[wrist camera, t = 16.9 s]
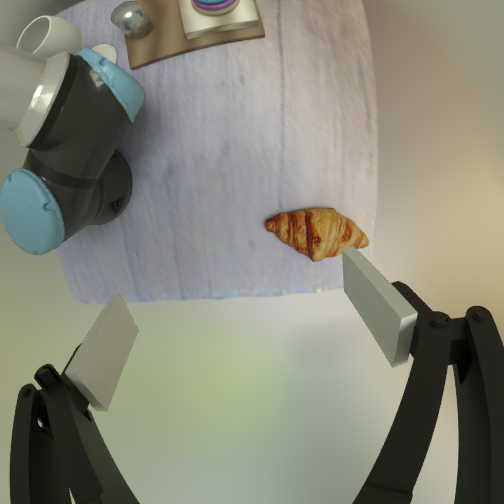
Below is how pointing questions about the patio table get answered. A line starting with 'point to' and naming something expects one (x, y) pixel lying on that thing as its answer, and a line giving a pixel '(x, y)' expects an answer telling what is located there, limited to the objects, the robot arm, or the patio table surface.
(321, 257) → the croissant
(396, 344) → the robot arm
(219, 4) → the stacking toy
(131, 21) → the grey brown short cylinder
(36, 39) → the wineglass
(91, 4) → the patio table surface
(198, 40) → the board
